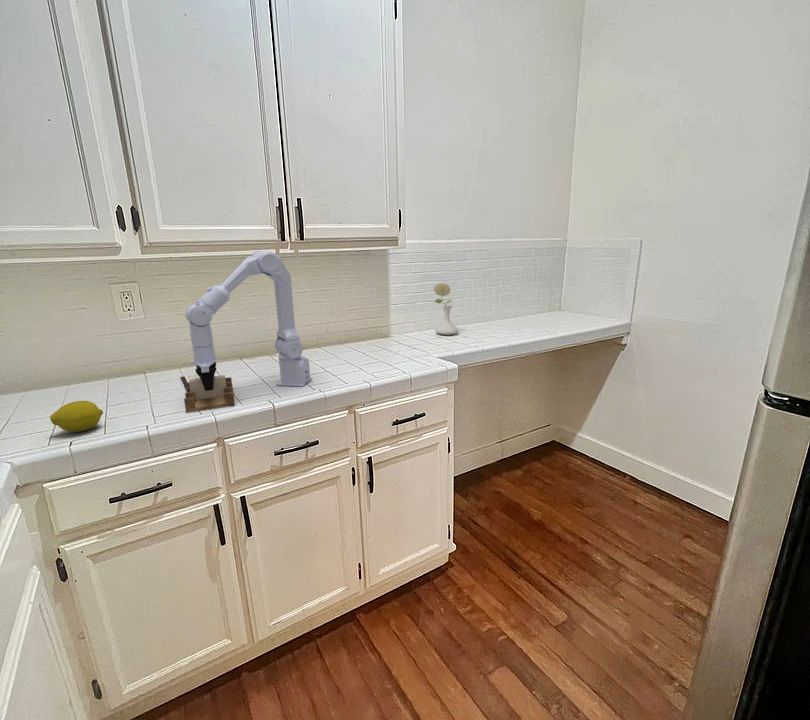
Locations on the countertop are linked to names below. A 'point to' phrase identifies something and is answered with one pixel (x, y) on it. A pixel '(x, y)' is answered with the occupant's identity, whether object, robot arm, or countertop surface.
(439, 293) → the flower in vase
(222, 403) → the pegged wooden tray
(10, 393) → the countertop surface
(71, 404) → the lemon
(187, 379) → the chocolate bar
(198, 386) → the clay slab
